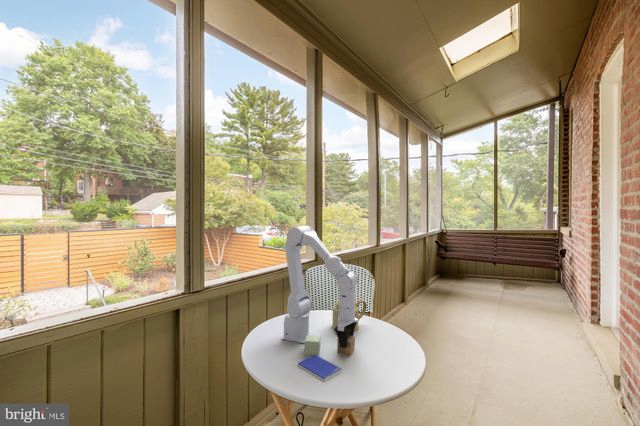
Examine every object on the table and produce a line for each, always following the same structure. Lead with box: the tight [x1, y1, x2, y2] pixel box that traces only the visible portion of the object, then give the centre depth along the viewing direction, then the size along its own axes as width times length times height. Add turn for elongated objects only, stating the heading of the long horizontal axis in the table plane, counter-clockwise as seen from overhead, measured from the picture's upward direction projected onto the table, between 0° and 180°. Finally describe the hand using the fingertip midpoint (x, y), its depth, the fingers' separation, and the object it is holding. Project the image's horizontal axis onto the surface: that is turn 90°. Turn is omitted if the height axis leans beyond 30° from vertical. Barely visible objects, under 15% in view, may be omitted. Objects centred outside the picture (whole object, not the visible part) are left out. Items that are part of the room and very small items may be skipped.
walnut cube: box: [336, 335, 356, 357], centre depth 116 cm, size 5×5×5 cm
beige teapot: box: [332, 299, 367, 332], centre depth 138 cm, size 15×11×15 cm
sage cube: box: [304, 334, 321, 356], centre depth 115 cm, size 5×5×5 cm
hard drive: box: [297, 355, 343, 382], centre depth 104 cm, size 2×8×12 cm
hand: (346, 342), depth 116 cm, fingers open, 7 cm apart
